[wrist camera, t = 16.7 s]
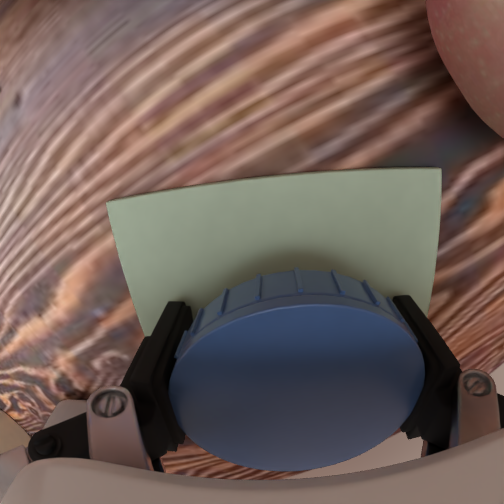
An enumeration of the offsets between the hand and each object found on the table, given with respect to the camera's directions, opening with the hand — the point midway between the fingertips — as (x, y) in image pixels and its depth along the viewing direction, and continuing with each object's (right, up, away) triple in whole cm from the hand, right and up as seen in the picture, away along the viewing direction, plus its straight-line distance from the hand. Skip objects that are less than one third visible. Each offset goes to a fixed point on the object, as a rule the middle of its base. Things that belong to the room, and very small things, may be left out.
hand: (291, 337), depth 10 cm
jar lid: (0, -1, -3) cm, 3 cm away
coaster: (0, 0, +1) cm, 1 cm away
